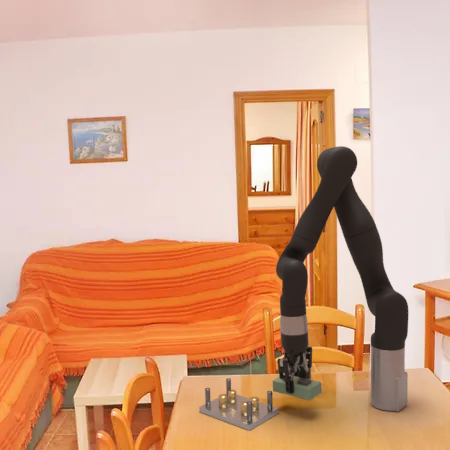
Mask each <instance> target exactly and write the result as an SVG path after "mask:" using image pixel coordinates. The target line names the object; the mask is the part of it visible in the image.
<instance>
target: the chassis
mask: <svg viewBox="0 0 450 450" xmlns="http://www.w3.org/2000/svg"><path fill="white" fill-rule="evenodd" d="M225 379H226V380H225V385H226V386H225V387H226V390H225V391H226V394H225V393H221V394H219V395H218V397H216V398H215V399H212V400H211V388H210V387H206V388H204V393H205V394H204V395H205V398H204V399H205V402H204V403H205V404H202V405H201V406H199V407H198V409H199V413H201V414H204V415H205V416H209V417H212V418H215V419H217V420H220V421H222V422H224V423H227V424H230V425H233V426H236V427H238V428H241V429H244V430H247V431H252V430H253V429H255V428H257V427H258V426H260V425H261V424H263V423H265V422H267V421H268V420H271V419H272V418H273V417H275V416H277V415H278V414H280V412H279V411H280V408H279V407H277V406H273V390H267V392H266V398H267V399H266V400H267V403H264V402H261V401H259V400H260V399H259V397H258V396H251V397H249V398H248V397H245V396H242V395H240V394H237V390H236V389H232V379H231V378H228V377H227V378H225Z"/></svg>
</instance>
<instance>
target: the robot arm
mask: <svg viewBox="0 0 450 450" xmlns="http://www.w3.org/2000/svg"><path fill="white" fill-rule="evenodd" d="M316 167H317V172H318V174H319V176H320V178H321V179H320V182H319V185H318V187H317V189H316V191H315V193H314V195H313V197H312V199H311V200H310V202H309V203H308V204H307V206H306V207H305V209H304V210H303V213H302V214H301V215H300V218H299V220H298V221H297V224H296V226H295V228H294V230H293V234H292V235H291V238H290V241H289V242H288V244H287V245H286V246H285V248H284V250H283V251H282V252H281V254H280V256H279V258H278V260H277V262H276V267H275V272H276V276H277V277H278V278H279V279H280V280H281V281H282V293H281V294H280V296H279V309H280V310H279V311H280V312H279V313H280V318H279V326H280V330H279V331H280V346H281V348H282V349H283V350H284V355H283V357H282V358H280V357H278V358H277V361H276V362H277V368H278V374H279V375H278V377H280V379H282V380H285V386H286V392H287V393H290V394H293V393H294V380H293V378H294V373H296V371H297V367H298V368H299V370H300V372H299V377H300V378H305V379H307V372H308V370H309V368H311V369H312V365H313V347H312V346H310V345H309V328H308V327H309V324H308V316H307V302H306V297H307V296H306V295H307V290H308V283H309V282H308V281H309V280H308V278H309V277H308V269H307V266H306V265H305V260H306V259H307V257H308V256H309V254H312V253H314V251H315V249H316V248H317V245H318V242H319V240H320V238H321V235H322V233H323V231H324V229H325V227H326V224H327V223H328V222H327V221H328V220H329V217H330V216H331V213H332V211H333V209H334V212H335V214H336V218H337V219H338V224H339V226H340V228H341V232H342V235H343V238H344V241H345V243H346V247H347V250H348V251H349V254H350V256H351V258H352V261H353V263H354V267H355V268H356V270H357V272H358V274H359V277H360V279H361V283H362V288H363V291H364V296H365V301H366V304H367V307H368V310H369V312H370V313H371V314H372V316H374V332H373V333H372V334H371V336H370V404H371V405H372V406H373V408H375V409H378V410H382V411H387V412H391V411H392V412H398V413H399V412H400V411H401V410H403V409H404V408H405V407H406V406H408V372H407V371H405V370H406V369H405V367H406V363H405V358H406V354H405V353H406V348H405V347H406V341H407V338H408V332H409V304H408V301H407V299H406V298H405V296H404V295H402V294H401V293H399V292H398V291H397V290H395V288H393V285H392V284H391V282H390V279H389V276H388V274H387V272H386V268H385V264H384V252H383V251H384V249H383V244H382V239H381V236H380V233H379V230H378V227H377V224H376V222H375V219H374V217H373V216H372V214H371V212H370V210H369V209H368V208H367V206H366V205H365V203H364V202H363V200H362V199H361V197H360V196H359V194H358V192H357V191H356V188H355V185H354V181H353V179H352V177H353V175H354V174H355V172H356V170H357V168H358V158H357V155H356V153H355V152H354V151H353V149H352V148H349V147H347V146H334V147H330V148H326V149H324V150H322V151H321V153H320V154H319V155H318V157H317V162H316ZM306 359H307V360H308V363H307V360H306ZM288 365H289V366H290V367H293V369H290V368H288ZM289 371H290V372H291V374H290V376H289ZM283 374H284V375H283Z"/></svg>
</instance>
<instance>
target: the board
mask: <svg viewBox="0 0 450 450" xmlns="http://www.w3.org/2000/svg"><path fill="white" fill-rule="evenodd" d="M283 375H284V373H283ZM289 376H290V375H289ZM293 380H294V393H293V394H290V393H287V392H286V386H285V380H282V379H280V377H279V376H278V377H276V378H274V379H273V380H272V392H275V393H278V394H283V395H286V396H291V397H294V398H299V399H302V400H303V399H304V400H307V401H312V400H314V399H315V398H316V397H318V396H319V395H320V394H322V393H323V392H322V382H321V381H317V380H313V379H311V380H309V379H305V378H300V377H296V376H294V378H293Z"/></svg>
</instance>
